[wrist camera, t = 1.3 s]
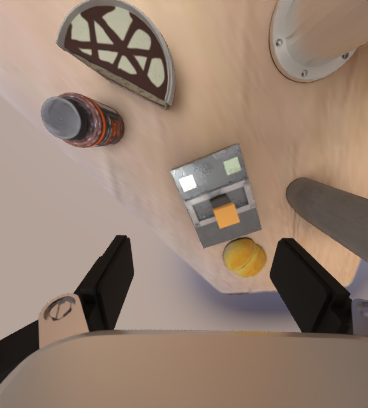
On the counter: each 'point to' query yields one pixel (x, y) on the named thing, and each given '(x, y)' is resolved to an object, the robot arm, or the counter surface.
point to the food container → (121, 48)
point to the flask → (332, 213)
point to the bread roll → (244, 257)
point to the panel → (217, 194)
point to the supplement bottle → (81, 121)
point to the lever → (224, 210)
